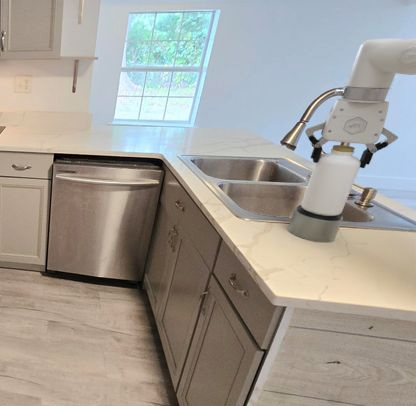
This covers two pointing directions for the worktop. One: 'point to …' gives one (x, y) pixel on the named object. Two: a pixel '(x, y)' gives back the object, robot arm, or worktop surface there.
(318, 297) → the worktop surface
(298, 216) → the grey cylinder
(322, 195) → the white bottle
